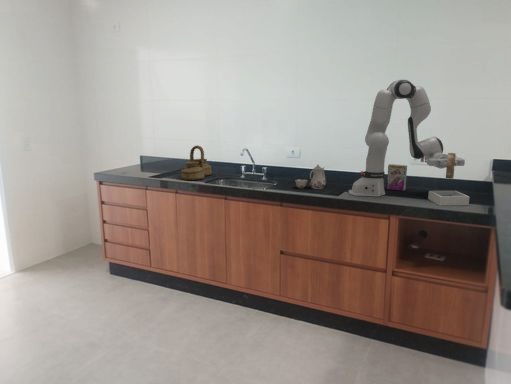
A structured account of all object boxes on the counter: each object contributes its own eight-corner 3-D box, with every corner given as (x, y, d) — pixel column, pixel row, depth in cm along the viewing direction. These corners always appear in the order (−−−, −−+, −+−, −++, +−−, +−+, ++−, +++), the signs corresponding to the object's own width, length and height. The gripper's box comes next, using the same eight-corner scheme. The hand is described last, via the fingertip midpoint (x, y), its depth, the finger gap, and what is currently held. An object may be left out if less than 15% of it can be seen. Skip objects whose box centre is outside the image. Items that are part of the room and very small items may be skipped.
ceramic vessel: (193, 173, 343) (192, 143, 338) (214, 174, 339) (213, 143, 334) (177, 180, 310) (175, 147, 305) (200, 181, 306) (199, 147, 301)
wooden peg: (447, 178, 234) (449, 153, 231) (444, 177, 237) (446, 153, 235) (454, 178, 234) (457, 153, 231) (451, 177, 237) (453, 152, 235)
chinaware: (317, 185, 298) (316, 162, 296) (336, 185, 286) (335, 161, 284) (292, 190, 279) (290, 166, 277) (311, 192, 267) (310, 166, 265)
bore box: (439, 205, 230) (440, 196, 229) (428, 199, 245) (428, 190, 244) (468, 205, 230) (469, 196, 229) (455, 198, 245) (456, 190, 244)
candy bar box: (386, 189, 274) (387, 164, 271) (388, 188, 278) (390, 163, 275) (403, 191, 268) (405, 166, 264) (405, 189, 272) (407, 165, 268)
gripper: (423, 155, 246) (433, 158, 232) (458, 155, 246) (470, 158, 232) (422, 166, 247) (432, 169, 234) (457, 166, 247) (468, 169, 234)
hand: (451, 164), depth 233 cm, fingers closed on wooden peg, 4 cm apart
